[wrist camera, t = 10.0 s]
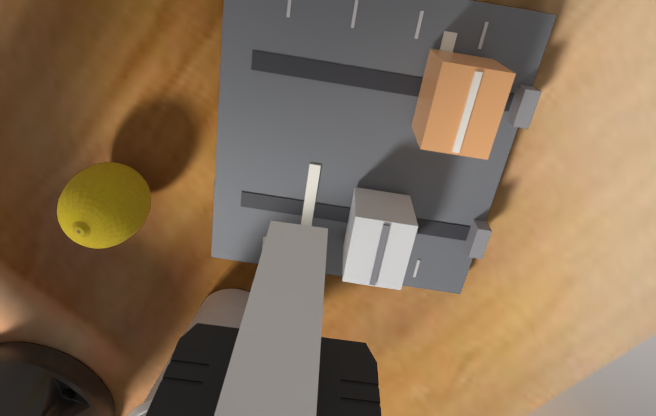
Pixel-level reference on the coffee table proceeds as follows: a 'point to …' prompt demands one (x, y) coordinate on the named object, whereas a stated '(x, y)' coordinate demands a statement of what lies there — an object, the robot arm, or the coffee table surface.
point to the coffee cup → (214, 311)
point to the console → (359, 122)
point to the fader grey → (378, 238)
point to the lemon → (104, 205)
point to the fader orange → (461, 103)
